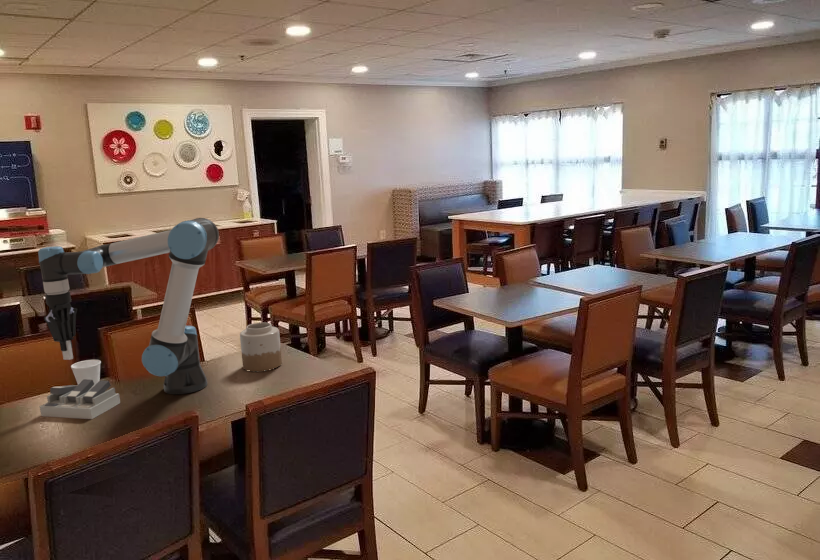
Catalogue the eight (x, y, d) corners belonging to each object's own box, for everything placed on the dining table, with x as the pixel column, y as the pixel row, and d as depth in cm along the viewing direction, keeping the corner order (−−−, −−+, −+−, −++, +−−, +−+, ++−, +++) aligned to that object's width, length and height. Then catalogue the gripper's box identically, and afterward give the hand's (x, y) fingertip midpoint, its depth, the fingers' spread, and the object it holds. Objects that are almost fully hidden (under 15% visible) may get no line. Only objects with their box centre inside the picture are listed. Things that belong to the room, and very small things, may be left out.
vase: (289, 364, 257) (286, 324, 254) (257, 375, 247) (253, 333, 243) (267, 357, 268) (264, 318, 265) (235, 367, 257) (231, 327, 254)
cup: (93, 397, 231) (88, 368, 228) (68, 397, 233) (64, 368, 230) (110, 387, 240) (106, 359, 238) (87, 387, 242) (83, 359, 240)
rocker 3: (110, 385, 222) (108, 380, 221) (94, 402, 214) (92, 396, 213) (101, 385, 223) (99, 380, 222) (85, 401, 215) (82, 396, 214)
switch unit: (120, 402, 224) (118, 386, 223) (91, 419, 211) (89, 402, 210) (71, 400, 229) (69, 384, 228) (41, 416, 216) (38, 399, 214)
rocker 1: (78, 391, 225) (79, 385, 225) (59, 394, 216) (59, 387, 216) (70, 390, 226) (70, 384, 226) (50, 393, 217) (50, 387, 217)
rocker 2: (94, 384, 223) (92, 379, 222) (78, 401, 216) (75, 396, 215) (85, 383, 224) (83, 379, 223) (69, 401, 217) (66, 396, 216)
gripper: (62, 288, 225) (73, 353, 229) (32, 296, 212) (44, 364, 217) (80, 288, 223) (90, 353, 227) (52, 296, 210) (63, 365, 215)
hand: (68, 358), depth 222 cm, fingers closed
